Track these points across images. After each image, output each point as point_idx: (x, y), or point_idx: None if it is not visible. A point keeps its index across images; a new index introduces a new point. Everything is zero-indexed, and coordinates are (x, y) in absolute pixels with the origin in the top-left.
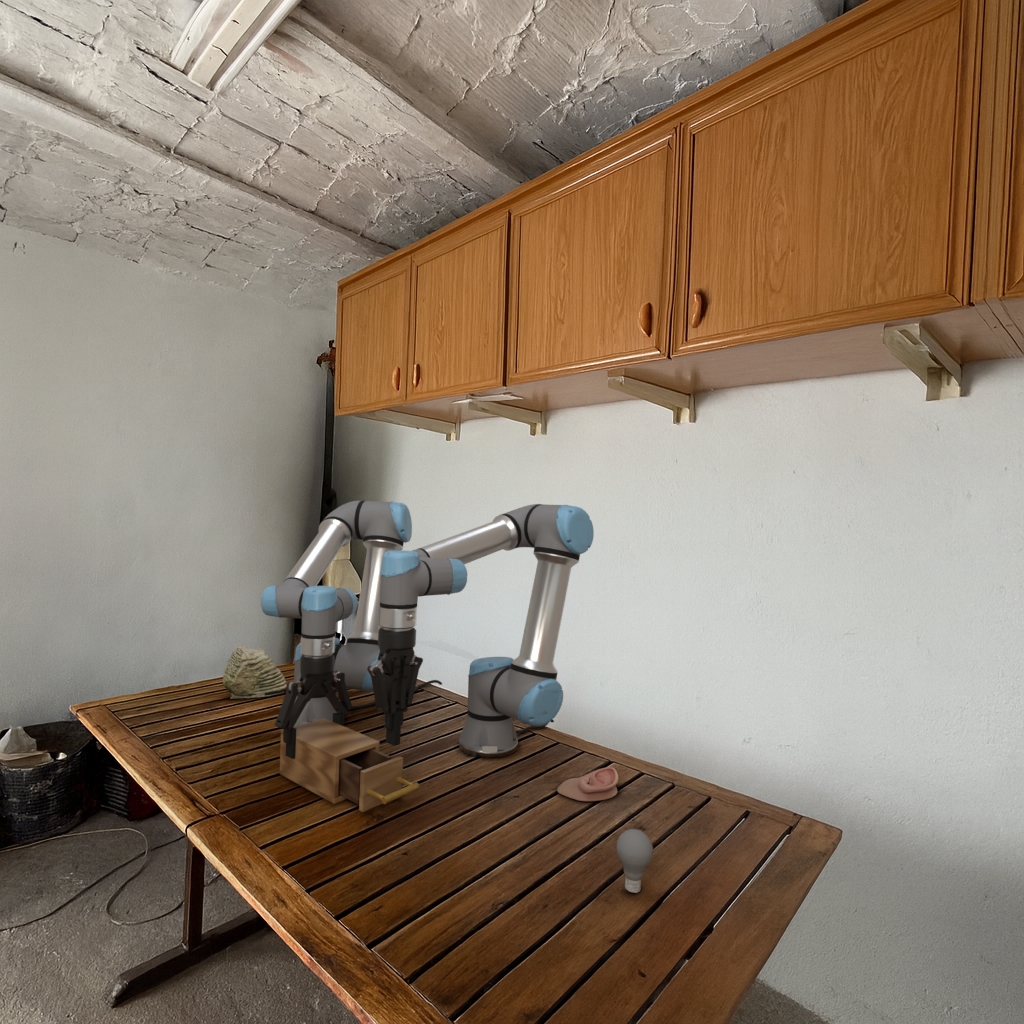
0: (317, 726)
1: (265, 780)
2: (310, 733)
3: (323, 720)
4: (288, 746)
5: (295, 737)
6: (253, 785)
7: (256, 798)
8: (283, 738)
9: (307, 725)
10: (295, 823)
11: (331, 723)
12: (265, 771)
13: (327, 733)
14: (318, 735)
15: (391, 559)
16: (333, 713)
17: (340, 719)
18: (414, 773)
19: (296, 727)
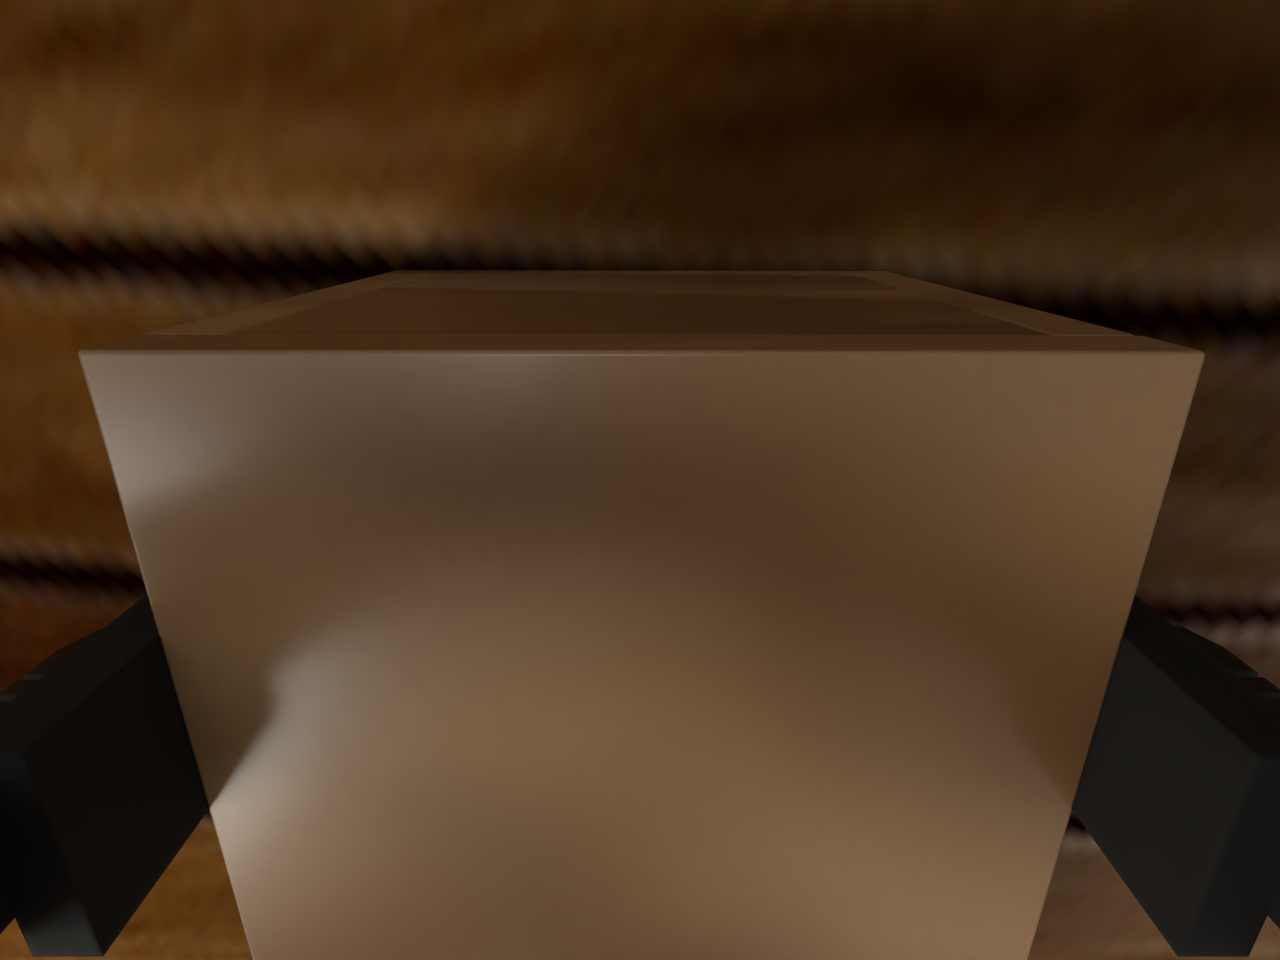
0: (755, 658)
1: (239, 303)
2: (475, 820)
3: (1076, 466)
4: None
5: (193, 815)
6: (116, 320)
7: (79, 541)
8: (35, 677)
9: (655, 490)
10: (197, 921)
11: (1031, 698)
12: (310, 107)
13: (670, 958)
14: (530, 933)
15: None
16: (1270, 760)
17: (1146, 891)
18: (1097, 916)
19: (423, 431)
